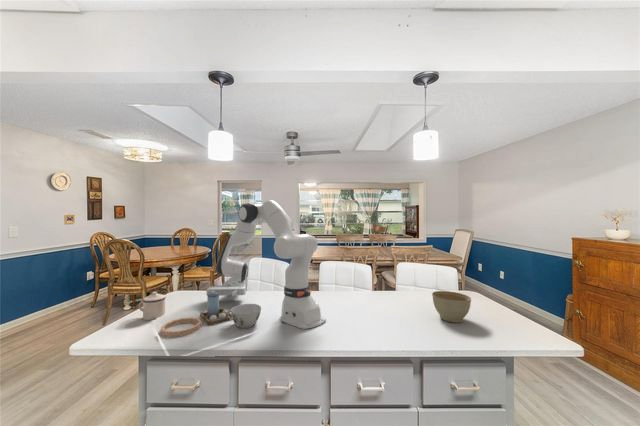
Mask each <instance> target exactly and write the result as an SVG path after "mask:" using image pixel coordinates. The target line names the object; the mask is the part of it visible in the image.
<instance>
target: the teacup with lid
mask: <svg viewBox="0 0 640 426" xmlns="http://www.w3.org/2000/svg"><path fill="white" fill-rule="evenodd" d="M166 297H167V296H166V295H165V294H162V293H158V291H153V292H151V294H150V295H148V296H145V297H144V298H143V299H142V301H140V302H139V303H138V309H139V310H140V312H142V319H143V320H144V321H153V320H154V321H155V320H157V319H158V318H161V317H163V316H165V314H166V312H165V311H166Z"/></svg>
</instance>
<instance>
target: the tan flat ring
mask: <svg viewBox="0 0 640 426" xmlns="http://www.w3.org/2000/svg"><path fill="white" fill-rule="evenodd" d="M187 323H188V324H189V323H190V324H191V323H192V324H196V325H193V326H191V327H189V328H185V329H181V330H168V329H169V328H171V327H174V326H176V325H181V324H187ZM201 326H202V319H200V317H199V318H198V317H193V316H191V317H182V318H178V319H177V318H176V319H173V320H170V321H168V322H166V323H164V324H163V325H162V326H161V327H160V333H161V335H162V336H163V337H166V338H175V337H177V338H178V337H184V336H187V335H190V334H193V333H195V332H196V331H198V330H200V328H201Z"/></svg>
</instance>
